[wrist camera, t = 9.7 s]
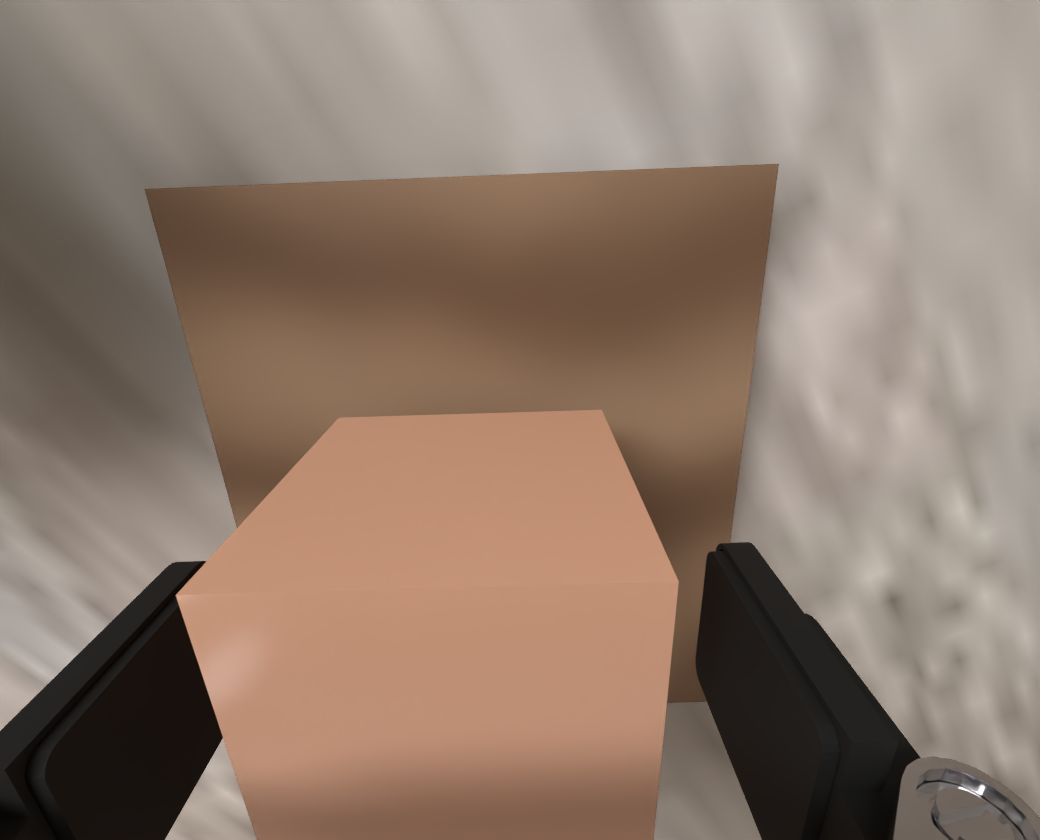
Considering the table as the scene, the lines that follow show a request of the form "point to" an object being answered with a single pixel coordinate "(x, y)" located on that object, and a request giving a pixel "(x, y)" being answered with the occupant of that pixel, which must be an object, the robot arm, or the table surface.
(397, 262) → the post board
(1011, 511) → the table surface
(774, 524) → the table surface
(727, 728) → the robot arm
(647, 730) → the salmon orange cube
